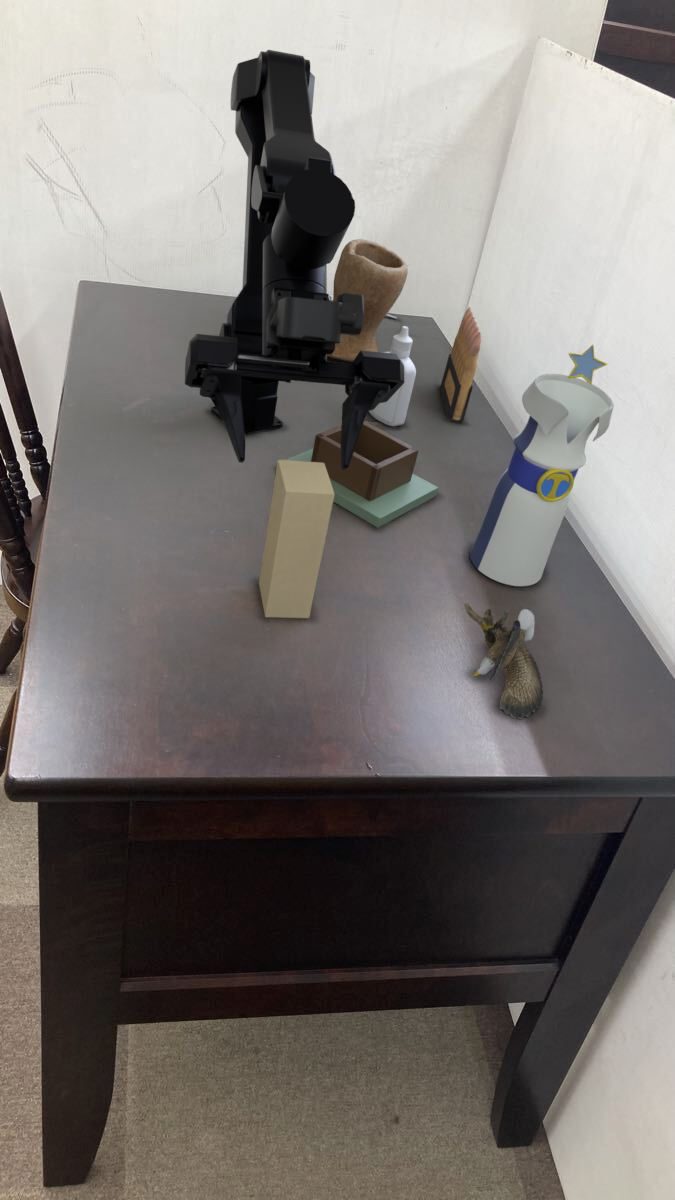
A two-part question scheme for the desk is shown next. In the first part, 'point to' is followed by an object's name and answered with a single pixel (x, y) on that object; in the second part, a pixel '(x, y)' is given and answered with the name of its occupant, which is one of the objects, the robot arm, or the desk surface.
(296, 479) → the tan rectangular block
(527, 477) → the white superhero chess piece
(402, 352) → the eye dropper bottle
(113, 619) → the desk surface
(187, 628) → the desk surface
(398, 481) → the seat base
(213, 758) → the desk surface
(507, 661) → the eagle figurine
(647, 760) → the desk surface
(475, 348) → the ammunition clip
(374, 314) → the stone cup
